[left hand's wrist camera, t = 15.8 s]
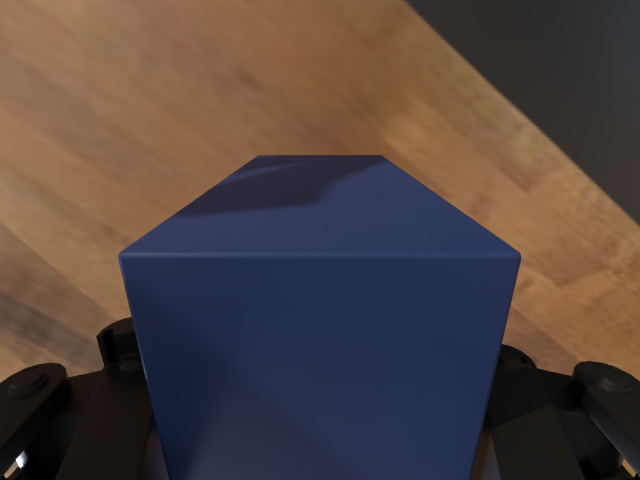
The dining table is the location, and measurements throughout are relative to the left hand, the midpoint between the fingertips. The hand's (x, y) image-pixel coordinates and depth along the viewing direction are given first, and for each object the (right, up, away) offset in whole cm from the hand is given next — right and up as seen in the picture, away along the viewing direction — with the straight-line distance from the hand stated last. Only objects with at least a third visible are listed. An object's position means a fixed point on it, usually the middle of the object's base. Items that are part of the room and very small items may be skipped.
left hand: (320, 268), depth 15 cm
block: (0, +1, +2) cm, 2 cm away
